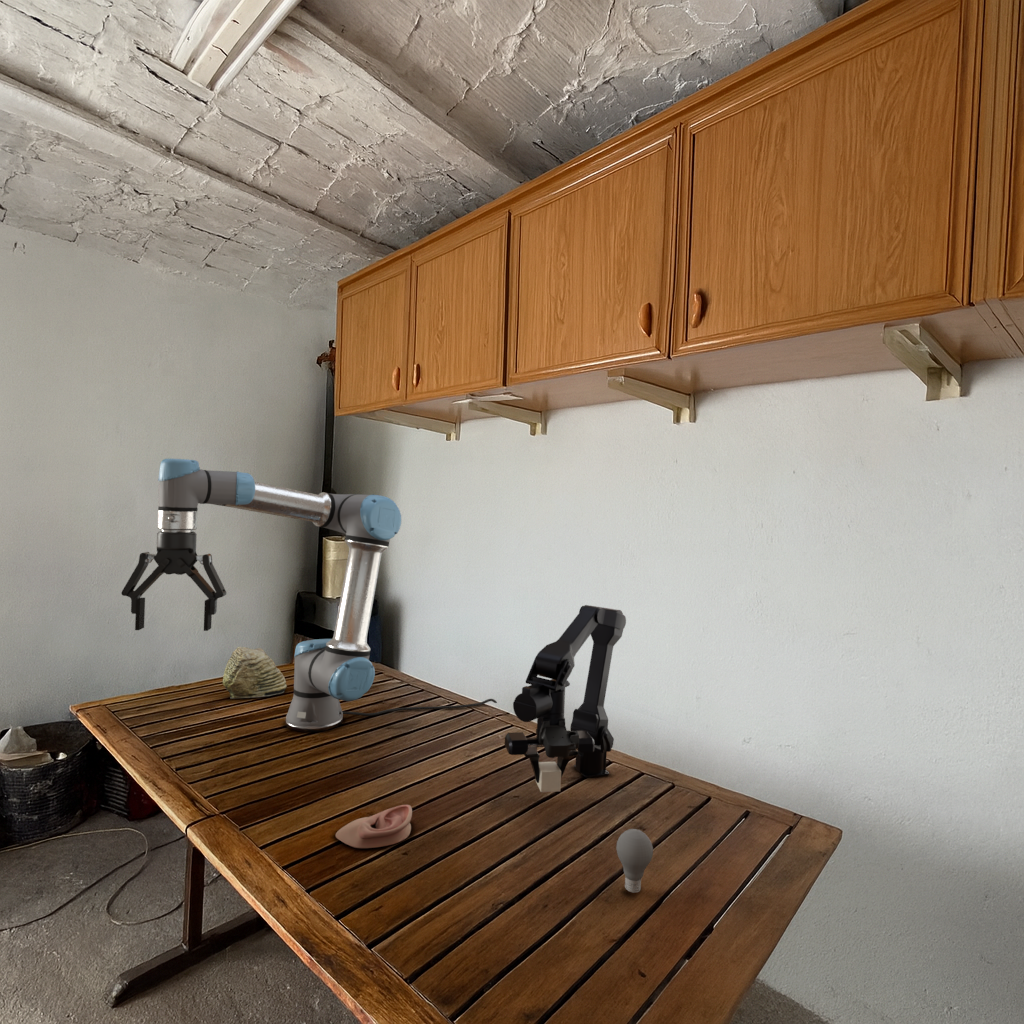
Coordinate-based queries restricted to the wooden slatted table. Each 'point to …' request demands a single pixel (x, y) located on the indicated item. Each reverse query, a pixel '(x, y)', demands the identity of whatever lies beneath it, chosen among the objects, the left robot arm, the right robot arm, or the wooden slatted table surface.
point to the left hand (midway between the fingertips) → (173, 629)
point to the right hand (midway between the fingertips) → (547, 781)
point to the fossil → (252, 674)
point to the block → (549, 777)
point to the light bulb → (634, 857)
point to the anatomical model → (378, 828)
